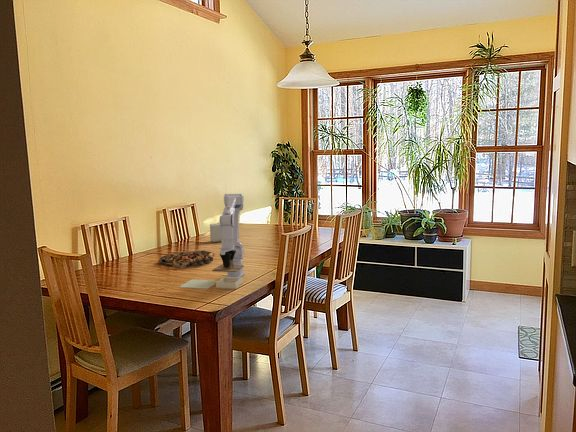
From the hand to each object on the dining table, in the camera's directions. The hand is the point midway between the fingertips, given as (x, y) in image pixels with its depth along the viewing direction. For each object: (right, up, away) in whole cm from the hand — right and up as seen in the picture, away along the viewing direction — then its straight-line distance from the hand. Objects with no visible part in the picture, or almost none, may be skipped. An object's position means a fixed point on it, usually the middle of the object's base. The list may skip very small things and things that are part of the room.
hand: (228, 266), depth 238 cm
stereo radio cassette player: (-18, +6, +123) cm, 124 cm away
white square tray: (0, -10, +1) cm, 10 cm away
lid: (0, -1, 0) cm, 1 cm away
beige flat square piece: (-15, -10, +5) cm, 18 cm away
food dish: (-31, -4, +56) cm, 64 cm away
